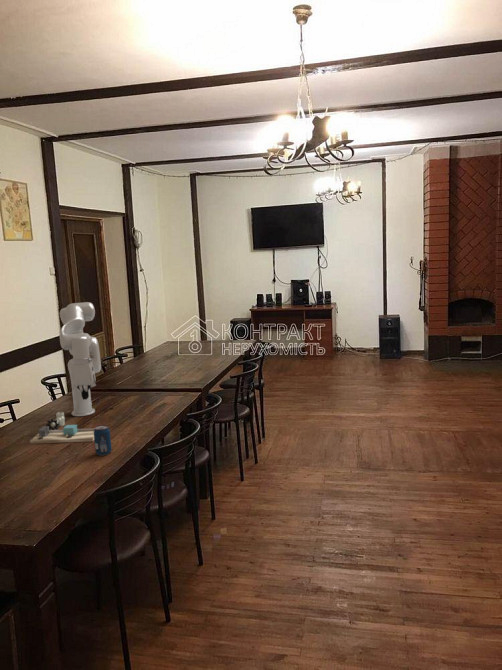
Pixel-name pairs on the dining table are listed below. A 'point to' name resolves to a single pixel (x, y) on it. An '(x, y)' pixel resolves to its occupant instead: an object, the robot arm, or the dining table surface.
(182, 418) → the dining table surface
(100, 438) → the soda can
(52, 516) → the dining table surface
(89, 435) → the board
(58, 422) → the valve
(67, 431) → the sliding block
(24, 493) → the dining table surface
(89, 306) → the robot arm
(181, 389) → the dining table surface
